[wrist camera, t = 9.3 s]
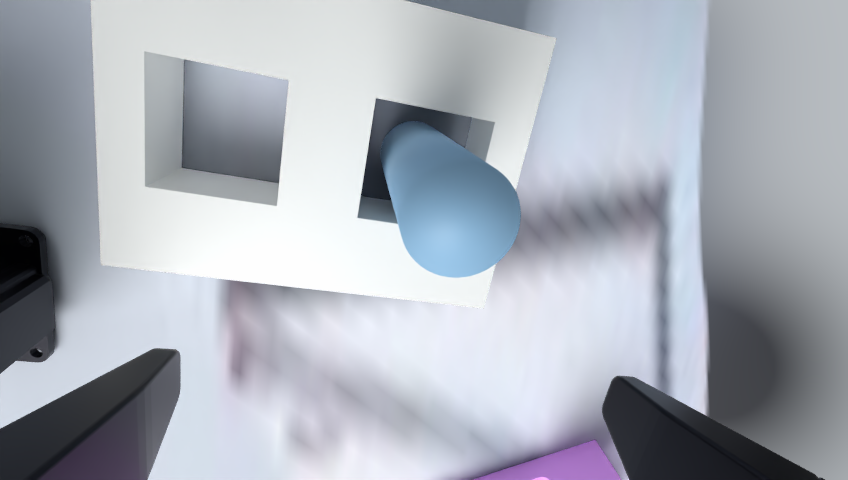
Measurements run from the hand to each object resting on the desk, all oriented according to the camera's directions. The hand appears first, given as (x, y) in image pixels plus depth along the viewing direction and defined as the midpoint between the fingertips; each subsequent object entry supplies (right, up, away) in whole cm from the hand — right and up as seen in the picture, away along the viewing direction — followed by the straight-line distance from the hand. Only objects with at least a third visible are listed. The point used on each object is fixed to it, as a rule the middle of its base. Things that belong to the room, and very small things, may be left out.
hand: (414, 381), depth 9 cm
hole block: (-4, +7, +10) cm, 13 cm away
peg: (0, +7, +11) cm, 13 cm away
